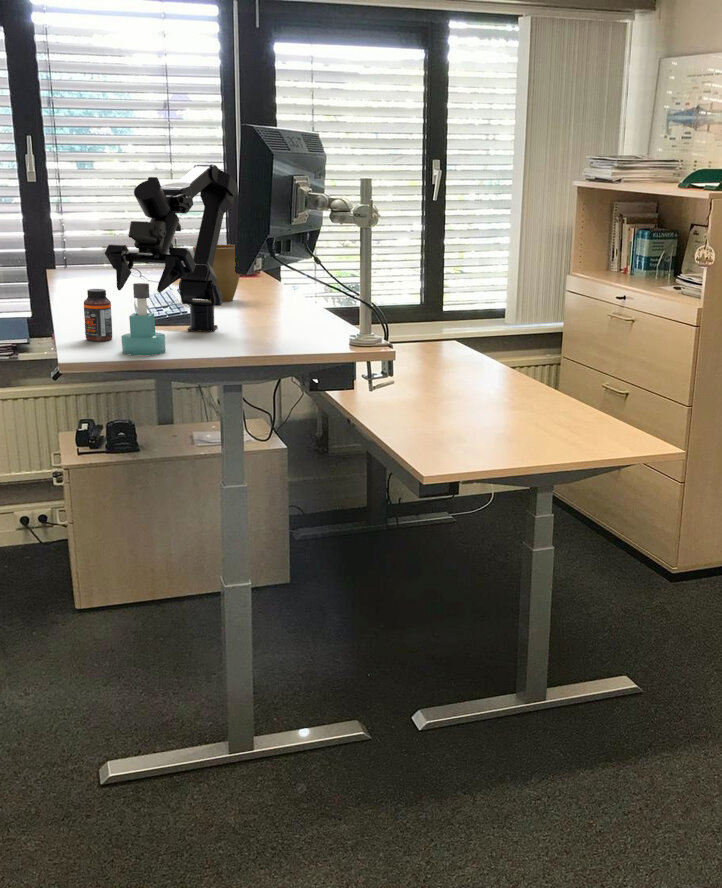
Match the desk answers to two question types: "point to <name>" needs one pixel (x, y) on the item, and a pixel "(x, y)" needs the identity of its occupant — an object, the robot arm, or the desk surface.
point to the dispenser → (143, 336)
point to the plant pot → (225, 271)
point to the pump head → (141, 297)
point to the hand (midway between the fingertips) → (138, 290)
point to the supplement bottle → (97, 316)
